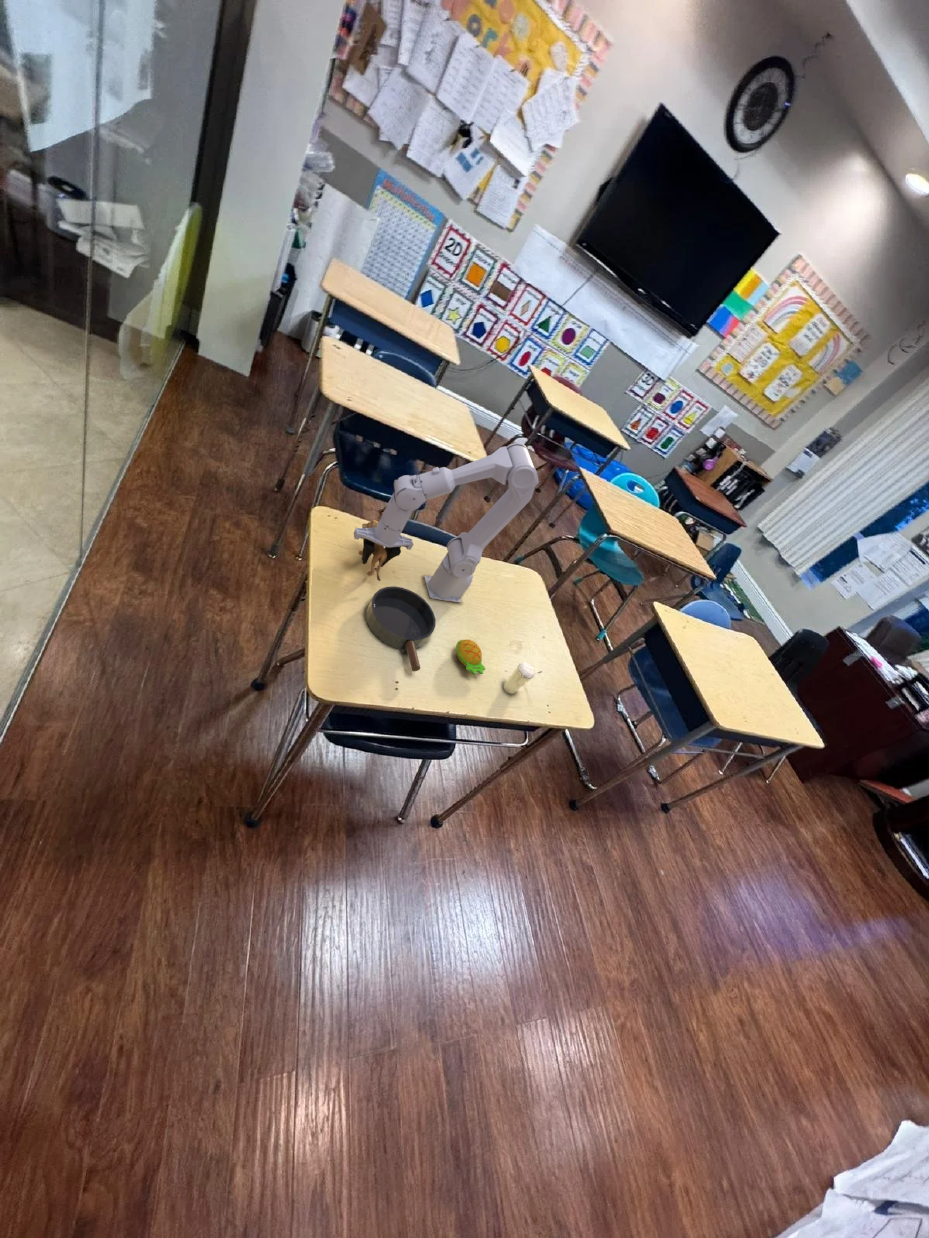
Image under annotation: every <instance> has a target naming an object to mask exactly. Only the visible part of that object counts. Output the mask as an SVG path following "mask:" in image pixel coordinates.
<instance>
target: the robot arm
mask: <svg viewBox="0 0 929 1238" xmlns="http://www.w3.org/2000/svg"><path fill="white" fill-rule="evenodd" d="M490 478H491V479H493V480H494V481H497V482H498V483H500V484H501V485H503V486H505V485H506V483H507V481H508V489H507V490H506V491H505V492H504V493H503V494H502V495H501V496H500V498H499V499H498V500H497V501H496V502H495V503H494V504H493V505H492V506H491V508H489V510H488V511H486V513H485V514H484V515H483V516H482V517H481V518H480V520H478V522H476V523H475V525H474V526H472V528H471V529H470V530H469V531H468V532H466V531H462V532H460V533H459V535H457V536H455V537H453V538H452V539H450V540H449V541H448V542H447V544H446V550H447V552H446V554H445V556H444V557H443V559H442V560H441V561H440V563H439V565H438V566H437V568H436V570H435V571H434V573H433V575H432V576H430V575H424V576H423V579H424V583H425V585H426V589H427V593H428V596H429V598H430V599H433V600H439V601H445V602H452V603H458V604H459V603H461V602H462V597H463V596H464V595H465V593H466V592H467V591H468V590H469V588H470V587H471V585H472V583H473V579H474V575H473V574H474V573H475V572H476V568H477V566H478V565H479V564H480V563H481V560H482V555H483V551H484V549H485V548H486V547H487V546H488V545H489V544H490V543H491V542H492V541H493V540H494V539H495V538H496V537H497V535H499V533H500V532H501V531H503V530H504V528H505V527H506V526H507V525H508V524H509V523H510V522H511V521H513V519H514V518H515V517H516V516H517V515H518V514H519V513H520V512H521V510H523V509H524V508H525V506H526V505H528V504H529V502H530V501H531V500H532V498H533V496H534V492H535V489H536V486H538V485H539V482H540V481H539V476H538V471H537V470H536V468H535V466H534V463H533V460H532V458H531V455H530V451H529V448H528V447H527V446H526V445H525V444H523V443H520V442H514V443H513V442H512V443H511V444H508V445H507V446H500V447H499V448H497V449H496V450H495V451H493V452H492V453H490V454H489V455H486V456H484V457H482V458H479V459H476V460H474V461H471V462H469V463H467V464H463V465H461V466H459V467H456V468H453V469H450V468H447V467H445V466H443V467H439V466H435V467H433V468H432V470H429V471H427V472H422V473H419V474H414V475H410V474H406V475H405V474H404V475H402V476H400V477H398V478H397V479H394V480H393V481H394V482H393V489H394V491H393V493H392V495H391V497H390V499H389V501H388V503H387V504H386V506H385V508H384V510H383V513H382V515H381V517H380V519H379V521H378V522H379V523H378V525H377V527H376V528H362V527H355V529H354V531H353V538H354V540H360V539H361V540H362V543H363V546H362V550H363V555H361V562H362V564H363V565H366V564H368V561H369V559H370V557H371V556H372V555H373V554H372V553H373V552H374V551H375V547H374V544H375V543H377V544H379V545H382V546H384V548H385V550H386V551H387V558H386V560H385V562H384V563H383V564H382V565H381V567H380V568H383V567H384V566H385V565H386V564H387V563H388V562H389V561H391V560H393V559H394V558H396V557H399V556H400V555H401V554H402V549H401V548H402V547H403V548H406V550H409V551H411V550H412V548H413V546H414V541H413V538H410V537H407V536H404V535H402V532H403V530H404V528H405V526H406V524H407V523H408V521H409V519H410V517H411V515H412V513H413V511H417V510H418V509H420V507H421V506H422V505H423V504H424V503H426V501H428V500H429V501H430V500H432V499H435V498H439V497H442V496H445V495H449V494H452V492H453V491H454V490H455V488H456V486H460V485H465V484H468V483H473V482H477V481H482V480H485V479H490ZM374 542H375V543H374ZM370 555H371V556H370Z"/></svg>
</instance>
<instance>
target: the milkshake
mask: <svg viewBox="0 0 929 1238" xmlns="http://www.w3.org/2000/svg"><path fill="white" fill-rule="evenodd" d="M541 673H543V670H540V671H537V672H535V668H534V666H533V665H531V664H530V663H529V662H526V661H521V662H520V663H518V664H517V666H516V668H515V669H514V670H513V672H512V673H511V675H510V676H509V677H508V678H507V680H506V681H505V682H504V684H503V690H504V691H505V692H506V693H508V694H509V695H511V694H512V695H513V694H515V693H516V692H517V691H518V690H520V689H521V688H522V687H523V686H524V685H525V684H526V683H528V682H530V680H532V679H533V678H534V677H535V676H536V675H539V674H541Z"/></svg>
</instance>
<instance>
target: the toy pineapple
mask: <svg viewBox="0 0 929 1238" xmlns="http://www.w3.org/2000/svg"><path fill="white" fill-rule="evenodd" d="M455 649H456V650H455V651H456V652H455V653H456V657H457V659H458V660H459V661H460V662H461V664H463V665H464V666H465V670H466V671H468V672H471V674H472V675H476V674H477V673H478V674H479V675H483V674H484V671H485V670H486V666H484V665H483V663H482V662H483V654H482V649H481V647H480V646H479V645H478V643H476V642H475V641H474V640H472V639H467V638H465V639H460V640H458V641H457V643H456V646H455Z"/></svg>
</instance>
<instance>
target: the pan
mask: <svg viewBox="0 0 929 1238" xmlns="http://www.w3.org/2000/svg"><path fill="white" fill-rule="evenodd" d="M365 620H366V624H367V626H368V627H369V630H370V631H371V632H372V634H373V635H374V637H376V638H377V639H378V640H379V641H380V642H382V643H384V644H385V645H387V646H389V647H390V648H391V647H392V648H393V649H397V650H401V649H402V648H403V646H404V645H405V643H406V642H407V641H414V644H415V648H416V650H417V649H419V648H422V647H423V646H424V645H425V644H426V642H427V641H428V640H429V638H431V636H432V635H433V633H434V631H435V629H436V624H437V623H436V621H437V619H436V616H435V613H434V611H433V609H432V607H431V606H430V604H429V603H428V602H427V601H426V600H425V599H424V598H422V596H420V595H419V594H417V593H416V592H414V591H412V590H411V589H408V588H404V587H402V586H396V585H395V586H384V587H382V588H380V589H378V590H377V591H376V592H374V595H373V596H372V598H371V599H370V602H369V603H368V605H367V607H366V609H365Z"/></svg>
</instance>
